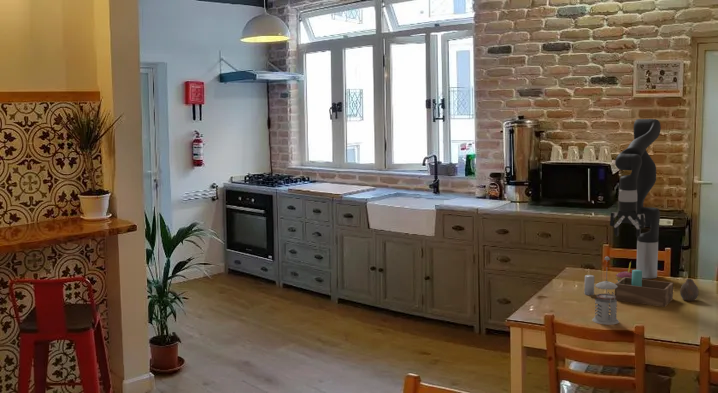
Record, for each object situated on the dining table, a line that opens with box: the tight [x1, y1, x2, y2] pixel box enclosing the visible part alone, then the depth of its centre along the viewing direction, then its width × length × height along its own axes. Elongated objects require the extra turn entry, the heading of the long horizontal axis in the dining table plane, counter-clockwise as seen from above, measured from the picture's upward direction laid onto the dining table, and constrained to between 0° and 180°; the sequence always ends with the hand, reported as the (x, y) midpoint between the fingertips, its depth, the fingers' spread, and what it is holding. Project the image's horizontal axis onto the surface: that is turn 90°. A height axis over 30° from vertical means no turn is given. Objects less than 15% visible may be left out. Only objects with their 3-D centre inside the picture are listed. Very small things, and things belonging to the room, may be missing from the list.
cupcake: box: [615, 261, 632, 282], centre depth 321 cm, size 9×8×12 cm
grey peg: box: [583, 274, 595, 296], centre depth 311 cm, size 4×4×8 cm
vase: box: [679, 278, 699, 302], centre depth 298 cm, size 7×7×9 cm
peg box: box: [614, 277, 674, 308], centre depth 300 cm, size 14×20×7 cm
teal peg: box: [631, 269, 643, 287], centre depth 302 cm, size 4×4×12 cm
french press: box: [591, 256, 620, 326], centre depth 270 cm, size 10×12×25 cm
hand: (627, 236), depth 310 cm, fingers open, 8 cm apart
